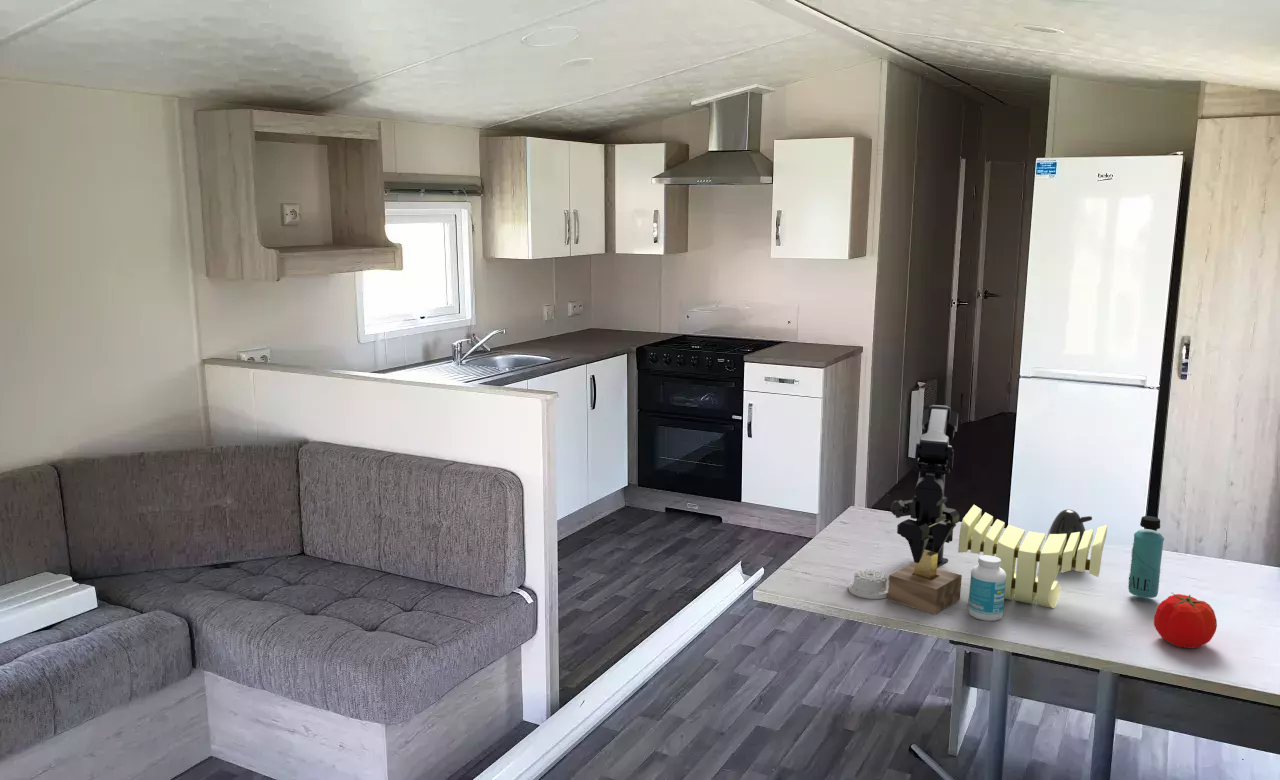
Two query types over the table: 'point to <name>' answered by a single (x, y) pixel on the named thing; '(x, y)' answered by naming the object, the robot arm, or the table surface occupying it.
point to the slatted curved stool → (1031, 555)
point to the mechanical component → (869, 584)
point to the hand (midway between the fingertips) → (926, 557)
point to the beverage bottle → (1146, 559)
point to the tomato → (1185, 621)
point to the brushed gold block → (927, 565)
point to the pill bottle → (987, 589)
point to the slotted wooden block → (924, 589)
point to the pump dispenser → (1068, 526)
